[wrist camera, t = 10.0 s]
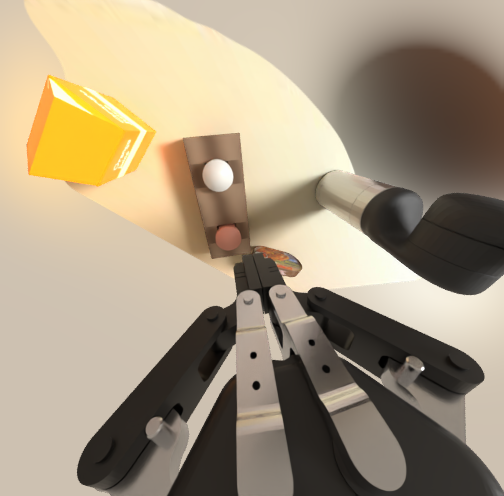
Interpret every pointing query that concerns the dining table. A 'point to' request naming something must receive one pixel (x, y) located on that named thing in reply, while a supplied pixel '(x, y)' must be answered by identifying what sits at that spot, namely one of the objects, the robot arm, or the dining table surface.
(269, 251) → the tin
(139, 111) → the dining table surface
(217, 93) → the dining table surface
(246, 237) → the block
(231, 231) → the brick plunger
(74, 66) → the dining table surface
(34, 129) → the orange juice
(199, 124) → the dining table surface
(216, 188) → the white rounded piece
